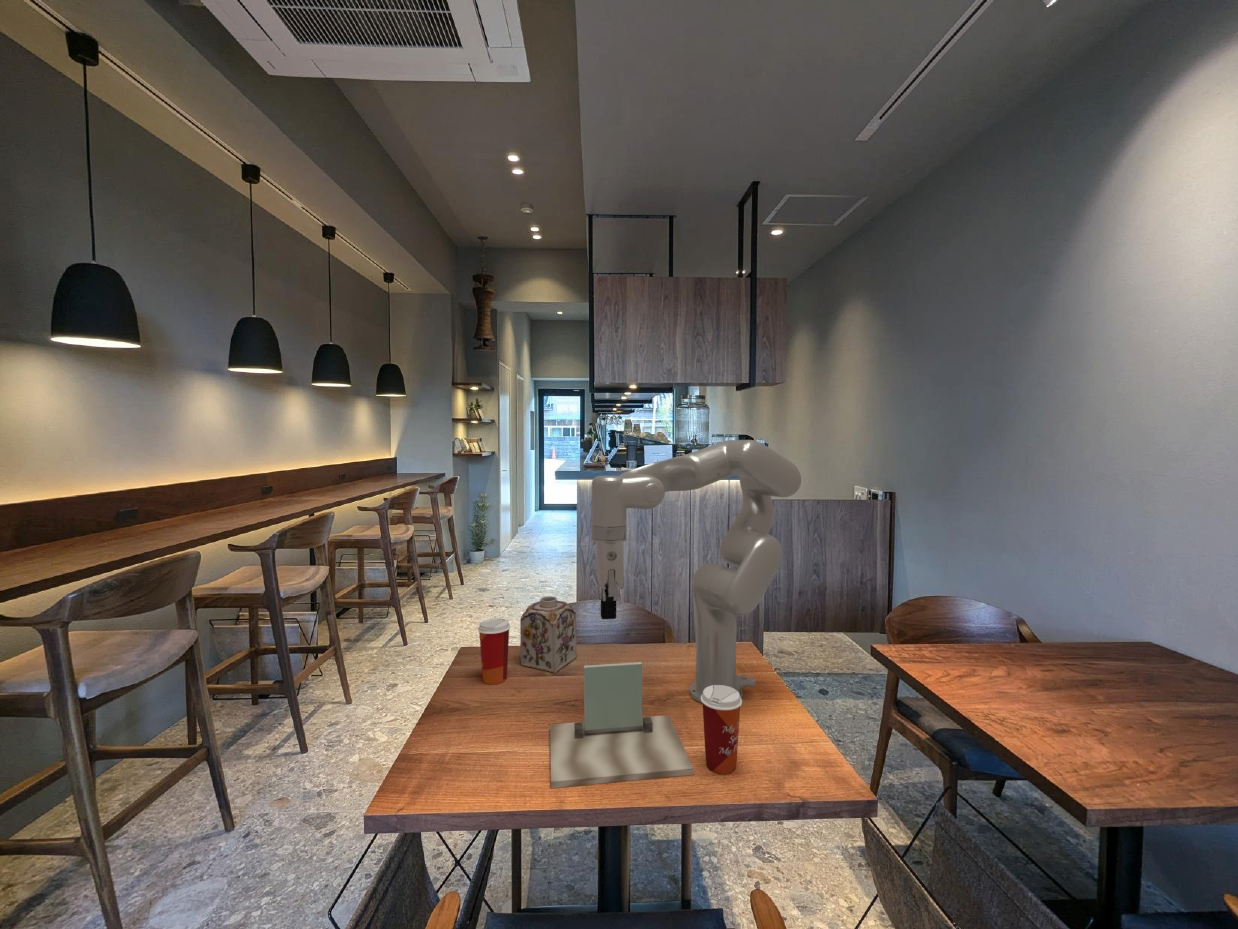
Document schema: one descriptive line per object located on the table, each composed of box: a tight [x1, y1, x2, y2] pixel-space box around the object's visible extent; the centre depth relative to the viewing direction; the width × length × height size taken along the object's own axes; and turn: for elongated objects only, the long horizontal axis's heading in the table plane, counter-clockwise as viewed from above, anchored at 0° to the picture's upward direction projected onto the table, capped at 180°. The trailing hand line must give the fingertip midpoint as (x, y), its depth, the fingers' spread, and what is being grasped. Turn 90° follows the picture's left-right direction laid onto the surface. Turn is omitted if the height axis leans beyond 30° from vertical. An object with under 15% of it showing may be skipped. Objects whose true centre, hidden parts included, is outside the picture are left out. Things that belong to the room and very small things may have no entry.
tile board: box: [549, 714, 694, 789], centre depth 103 cm, size 26×19×3 cm
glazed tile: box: [583, 661, 643, 734], centre depth 108 cm, size 12×1×14 cm, turn 98°
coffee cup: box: [477, 617, 512, 686], centre depth 134 cm, size 8×8×15 cm
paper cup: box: [701, 685, 743, 775], centre depth 98 cm, size 8×8×14 cm
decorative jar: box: [519, 595, 578, 674], centre depth 145 cm, size 12×12×18 cm
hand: (608, 617), depth 112 cm, fingers closed
